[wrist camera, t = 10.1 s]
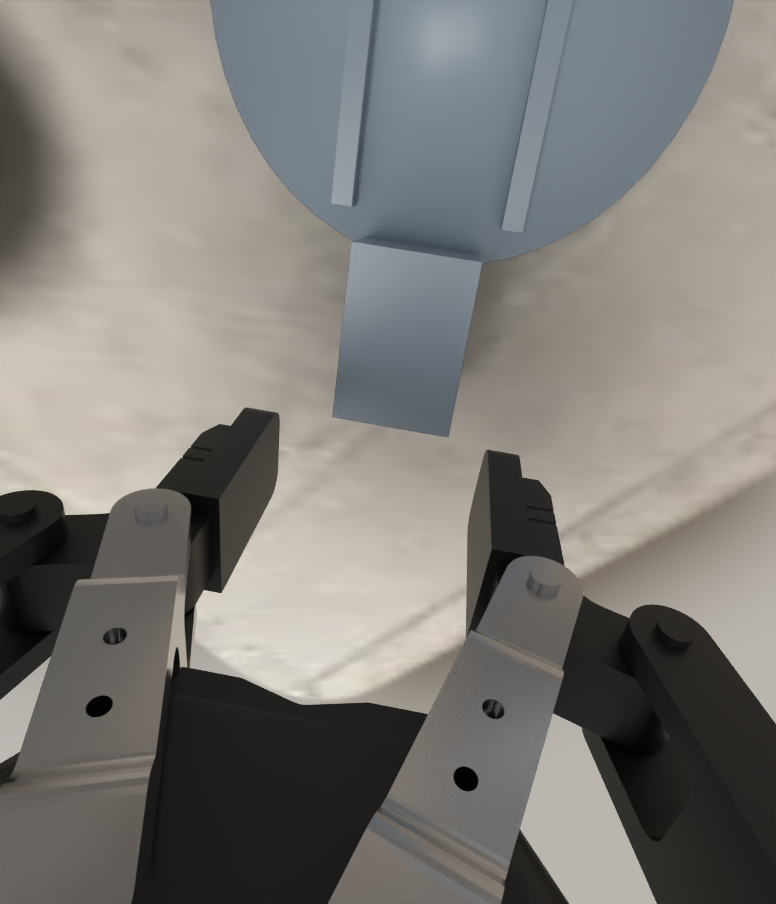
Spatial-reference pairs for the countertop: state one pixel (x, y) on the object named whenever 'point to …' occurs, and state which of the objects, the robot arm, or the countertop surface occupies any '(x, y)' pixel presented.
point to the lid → (454, 150)
